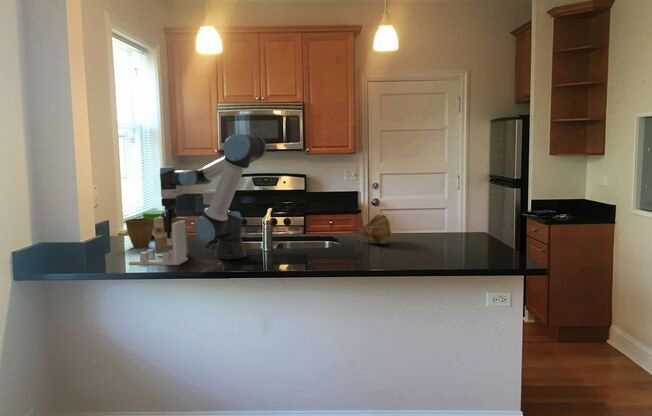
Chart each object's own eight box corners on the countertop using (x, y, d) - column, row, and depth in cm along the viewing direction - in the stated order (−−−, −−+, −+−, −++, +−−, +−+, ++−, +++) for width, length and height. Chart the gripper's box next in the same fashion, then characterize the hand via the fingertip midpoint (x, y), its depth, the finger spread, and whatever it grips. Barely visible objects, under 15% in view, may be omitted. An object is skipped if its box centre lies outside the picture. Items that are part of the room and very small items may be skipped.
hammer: (216, 242, 310) (215, 190, 307) (204, 242, 311) (202, 190, 308) (225, 238, 325) (223, 189, 322) (213, 238, 326) (211, 189, 323)
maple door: (185, 254, 264) (183, 218, 263) (154, 254, 266) (152, 218, 264) (188, 252, 269) (186, 217, 267) (158, 252, 271) (156, 217, 269)
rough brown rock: (357, 239, 313) (357, 214, 312) (386, 238, 314) (385, 213, 313) (362, 246, 290) (362, 218, 289) (392, 245, 291) (392, 218, 289)
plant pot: (161, 247, 297) (159, 218, 295) (140, 251, 284) (139, 221, 282) (141, 245, 304) (140, 217, 302) (120, 249, 291) (119, 220, 289)
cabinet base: (178, 264, 246) (176, 223, 244) (129, 264, 249) (126, 223, 247) (187, 259, 258) (186, 220, 256) (140, 259, 261) (138, 220, 259)
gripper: (169, 198, 257) (172, 246, 259) (182, 196, 273) (184, 241, 275) (155, 199, 258) (157, 247, 260) (168, 196, 274) (170, 241, 276)
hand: (171, 244), depth 268 cm, fingers closed on maple door, 3 cm apart
